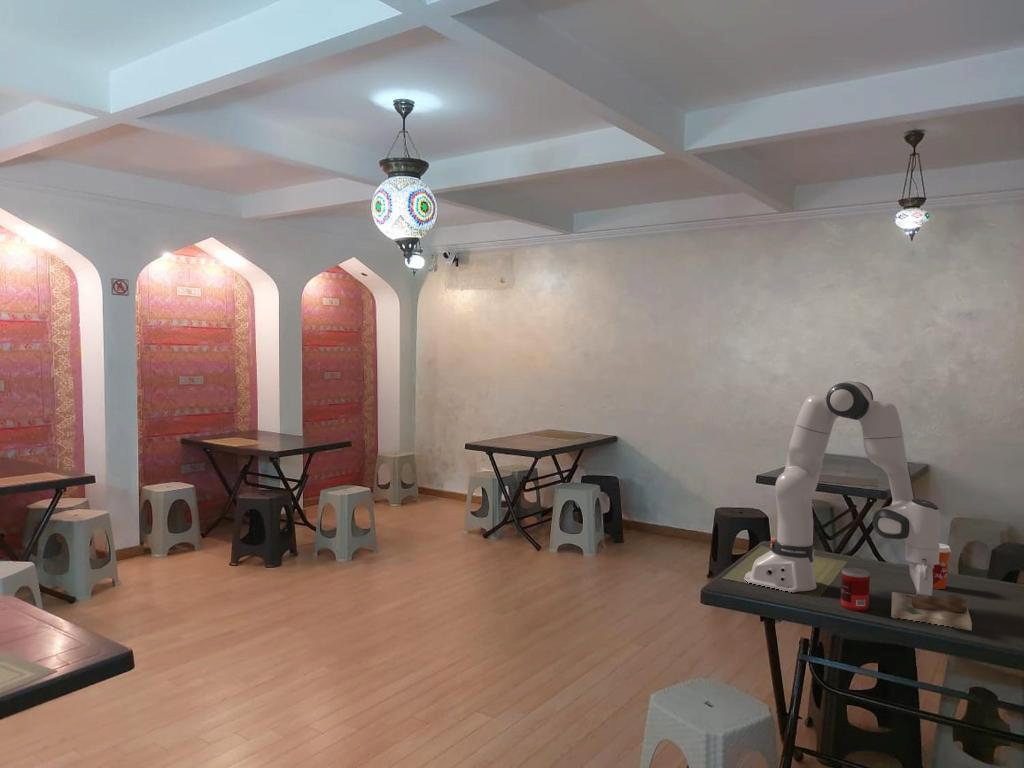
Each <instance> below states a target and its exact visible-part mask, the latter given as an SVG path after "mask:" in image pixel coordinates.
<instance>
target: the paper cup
mask: <svg viewBox="0 0 1024 768" xmlns="http://www.w3.org/2000/svg"><path fill="white" fill-rule="evenodd" d="M939 545H940V551H939V563H938V564H936V565H934V568H933V569H932V572H933V588H935V589H934V590H937V589H944V590H946V588H947V581H948V575H949V573H948V572H949V564H950V555H951V552H952V549H951V547H950V546H949V545H948V544H945V543H940V542H939Z"/></svg>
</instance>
